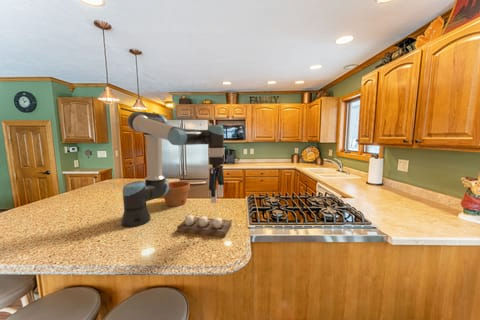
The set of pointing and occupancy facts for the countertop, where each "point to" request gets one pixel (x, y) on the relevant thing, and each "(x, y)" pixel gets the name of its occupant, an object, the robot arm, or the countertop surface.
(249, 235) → the countertop surface
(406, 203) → the countertop surface
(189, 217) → the button
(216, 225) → the button
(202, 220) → the button
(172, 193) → the flower pot
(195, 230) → the board
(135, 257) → the countertop surface
